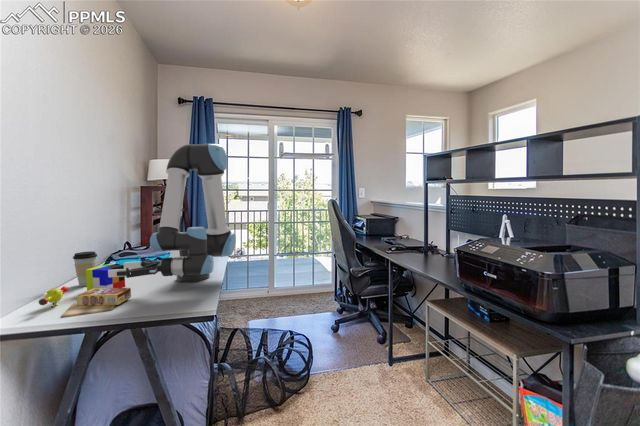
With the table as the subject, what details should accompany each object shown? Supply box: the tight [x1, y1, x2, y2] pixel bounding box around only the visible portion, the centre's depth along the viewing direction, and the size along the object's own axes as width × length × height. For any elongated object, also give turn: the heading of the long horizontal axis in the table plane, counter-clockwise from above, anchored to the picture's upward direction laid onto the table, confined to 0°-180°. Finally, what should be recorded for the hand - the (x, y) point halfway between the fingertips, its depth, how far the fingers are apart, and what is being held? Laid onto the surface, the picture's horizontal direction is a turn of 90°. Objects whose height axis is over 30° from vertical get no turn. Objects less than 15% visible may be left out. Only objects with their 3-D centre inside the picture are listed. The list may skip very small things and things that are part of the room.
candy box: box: [76, 287, 132, 306], centre depth 125 cm, size 9×4×15 cm
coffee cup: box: [72, 250, 98, 287], centre depth 152 cm, size 9×9×15 cm
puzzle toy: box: [86, 264, 126, 291], centre depth 144 cm, size 10×10×10 cm
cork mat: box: [61, 303, 116, 318], centre depth 120 cm, size 15×13×1 cm
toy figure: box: [38, 286, 69, 308], centre depth 122 cm, size 18×6×7 cm, turn 16°
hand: (116, 269), depth 129 cm, fingers open, 13 cm apart
